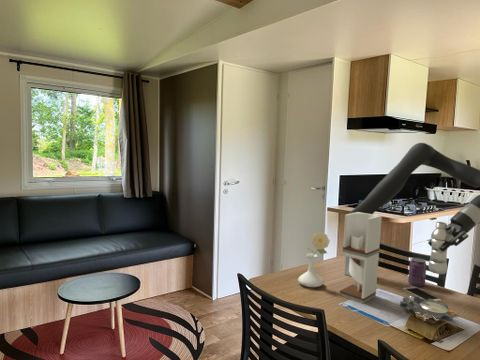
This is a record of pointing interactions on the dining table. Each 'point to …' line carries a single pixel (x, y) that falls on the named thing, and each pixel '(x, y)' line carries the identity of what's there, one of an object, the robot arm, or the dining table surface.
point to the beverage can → (417, 272)
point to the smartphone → (421, 293)
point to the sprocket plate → (426, 307)
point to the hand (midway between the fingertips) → (435, 247)
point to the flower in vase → (310, 276)
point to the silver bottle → (437, 256)
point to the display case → (362, 254)
